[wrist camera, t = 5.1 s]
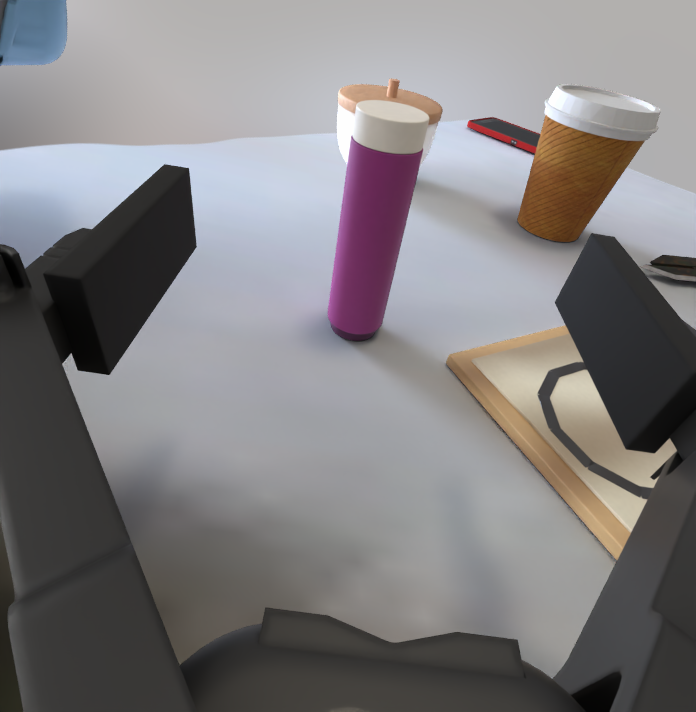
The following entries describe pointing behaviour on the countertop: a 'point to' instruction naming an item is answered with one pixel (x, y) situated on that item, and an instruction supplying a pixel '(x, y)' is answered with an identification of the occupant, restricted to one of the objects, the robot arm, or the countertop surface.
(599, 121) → the disposable coffee cup
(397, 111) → the dot marker
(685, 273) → the knife
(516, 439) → the drawing board
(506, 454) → the countertop surface
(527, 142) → the cell phone
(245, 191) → the countertop surface
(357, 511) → the countertop surface
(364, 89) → the lidded sugar bowl
